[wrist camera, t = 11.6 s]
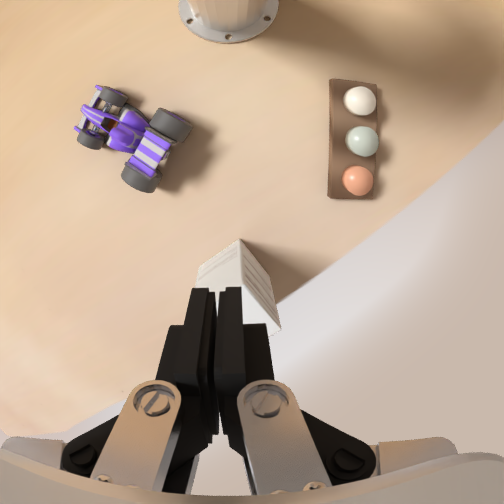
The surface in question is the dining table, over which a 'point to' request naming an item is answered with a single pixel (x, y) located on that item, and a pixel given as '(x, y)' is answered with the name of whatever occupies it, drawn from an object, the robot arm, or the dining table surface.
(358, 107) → the cream button
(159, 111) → the toy race car
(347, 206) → the dining table surface
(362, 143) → the sage button
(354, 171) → the terracotta button
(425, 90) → the dining table surface
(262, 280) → the supplement box
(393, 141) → the dining table surface
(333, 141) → the button plate
